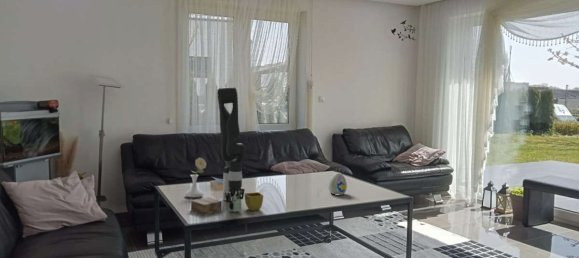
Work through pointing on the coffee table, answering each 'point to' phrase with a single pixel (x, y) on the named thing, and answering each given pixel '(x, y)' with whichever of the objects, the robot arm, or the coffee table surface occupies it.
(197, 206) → the walnut box
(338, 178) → the decorative egg
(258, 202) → the flower pot
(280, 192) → the coffee table surface
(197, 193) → the flower in vase
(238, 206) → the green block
